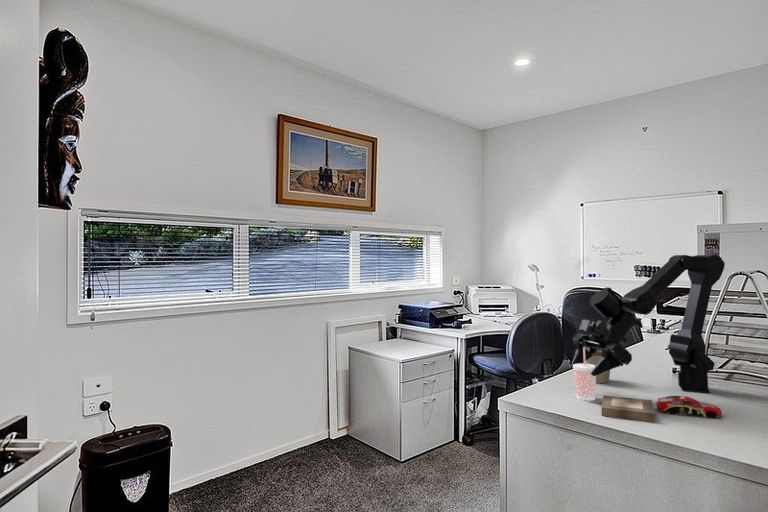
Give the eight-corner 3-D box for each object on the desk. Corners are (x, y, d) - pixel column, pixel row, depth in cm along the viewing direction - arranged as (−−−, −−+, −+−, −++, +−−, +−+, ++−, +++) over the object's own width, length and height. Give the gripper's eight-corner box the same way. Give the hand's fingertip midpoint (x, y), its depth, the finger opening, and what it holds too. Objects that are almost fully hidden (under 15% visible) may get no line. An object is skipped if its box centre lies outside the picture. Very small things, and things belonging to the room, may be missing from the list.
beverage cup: (578, 394, 127) (577, 344, 127) (601, 398, 123) (599, 347, 123) (570, 399, 123) (568, 348, 123) (593, 403, 119) (591, 350, 119)
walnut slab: (651, 408, 113) (651, 399, 113) (654, 422, 104) (653, 413, 104) (603, 402, 119) (603, 395, 119) (601, 415, 109) (601, 407, 109)
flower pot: (621, 384, 136) (619, 356, 136) (589, 385, 136) (588, 356, 136) (606, 376, 145) (605, 350, 145) (577, 377, 145) (576, 351, 145)
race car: (719, 414, 109) (718, 397, 109) (724, 421, 104) (723, 404, 104) (655, 407, 115) (655, 391, 115) (658, 414, 110) (657, 397, 110)
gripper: (577, 306, 133) (544, 345, 131) (620, 312, 115) (582, 358, 113) (602, 331, 134) (569, 370, 132) (648, 341, 116) (611, 387, 114)
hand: (581, 371), depth 123 cm, fingers open, 9 cm apart
